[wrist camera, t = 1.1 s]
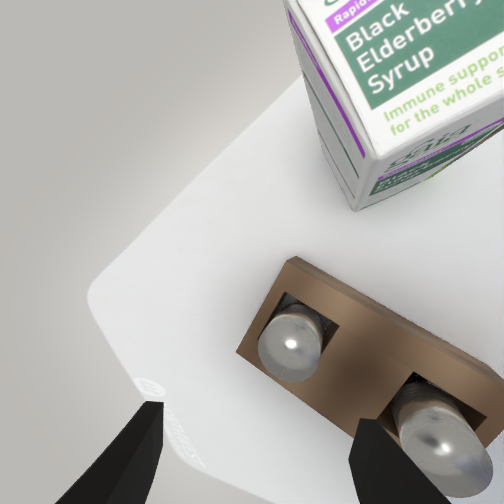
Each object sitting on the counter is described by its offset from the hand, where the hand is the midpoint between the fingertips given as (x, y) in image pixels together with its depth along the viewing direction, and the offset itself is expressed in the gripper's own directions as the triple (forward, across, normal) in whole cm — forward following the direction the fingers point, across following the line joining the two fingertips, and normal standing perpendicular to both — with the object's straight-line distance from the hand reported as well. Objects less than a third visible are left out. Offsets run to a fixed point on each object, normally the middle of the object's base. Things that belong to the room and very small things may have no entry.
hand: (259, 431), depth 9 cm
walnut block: (+10, -8, +3) cm, 13 cm away
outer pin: (+9, -3, +1) cm, 10 cm away
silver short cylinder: (+6, -11, +4) cm, 13 cm away
